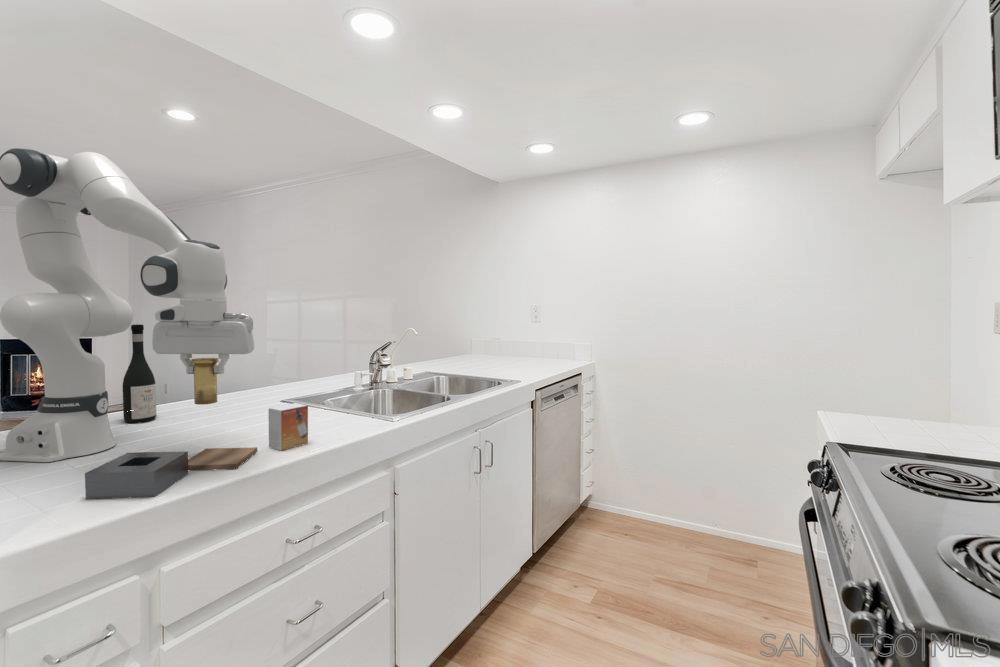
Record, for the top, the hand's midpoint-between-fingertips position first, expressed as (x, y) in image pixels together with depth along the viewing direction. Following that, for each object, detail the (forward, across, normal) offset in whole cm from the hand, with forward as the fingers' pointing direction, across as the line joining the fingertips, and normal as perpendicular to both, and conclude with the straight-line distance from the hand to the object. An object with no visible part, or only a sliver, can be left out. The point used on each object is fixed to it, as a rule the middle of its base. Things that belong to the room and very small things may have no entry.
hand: (205, 373), depth 104 cm
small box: (+22, -13, -14) cm, 29 cm away
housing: (+21, +7, +11) cm, 25 cm away
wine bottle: (+21, +40, -42) cm, 62 cm away
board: (+21, -2, -3) cm, 22 cm away
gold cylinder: (+7, 0, 0) cm, 7 cm away
